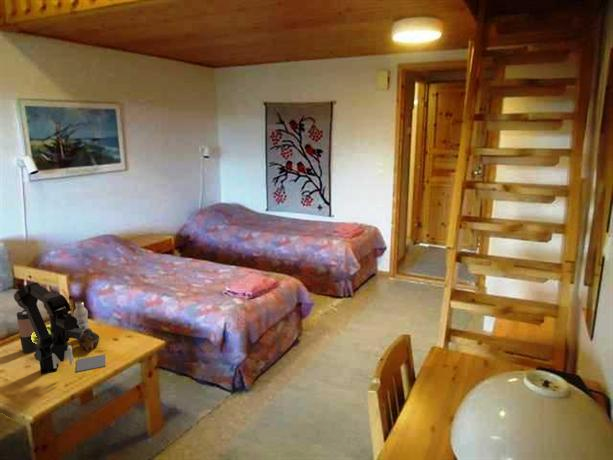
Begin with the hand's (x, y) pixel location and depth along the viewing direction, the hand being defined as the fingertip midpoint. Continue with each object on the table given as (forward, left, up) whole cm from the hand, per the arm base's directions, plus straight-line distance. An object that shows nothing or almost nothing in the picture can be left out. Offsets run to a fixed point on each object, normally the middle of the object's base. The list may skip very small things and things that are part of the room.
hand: (62, 358), depth 191 cm
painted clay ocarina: (+9, +27, -9) cm, 30 cm away
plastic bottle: (+6, +38, -9) cm, 40 cm away
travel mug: (-17, +36, -9) cm, 41 cm away
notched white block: (0, 0, -3) cm, 2 cm away
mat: (+10, +9, -9) cm, 16 cm away
